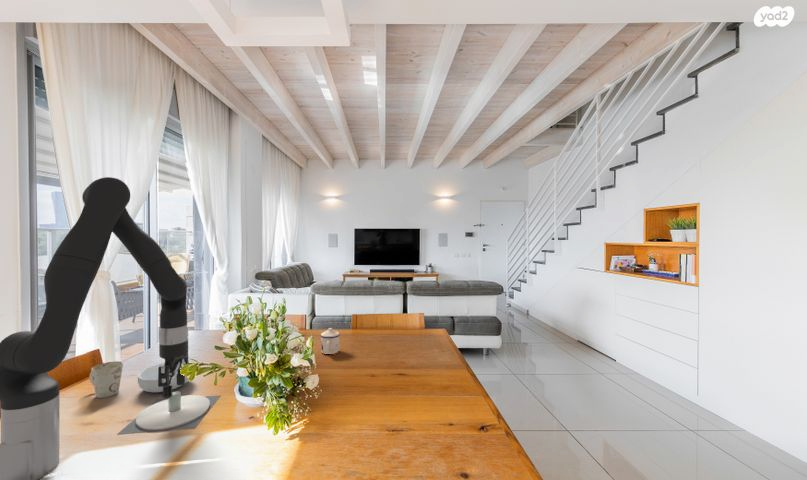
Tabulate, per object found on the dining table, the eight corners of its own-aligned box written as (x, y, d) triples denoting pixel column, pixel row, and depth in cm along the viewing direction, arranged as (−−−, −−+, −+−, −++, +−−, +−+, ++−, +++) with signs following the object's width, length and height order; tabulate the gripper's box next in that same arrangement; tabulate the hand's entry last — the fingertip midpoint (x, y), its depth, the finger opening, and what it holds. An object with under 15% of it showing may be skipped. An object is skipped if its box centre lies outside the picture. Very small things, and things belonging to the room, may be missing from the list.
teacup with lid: (322, 349, 166) (322, 325, 166) (340, 349, 167) (340, 325, 166) (317, 358, 154) (317, 332, 154) (337, 357, 155) (337, 332, 155)
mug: (104, 400, 113) (104, 371, 113) (75, 396, 115) (75, 368, 115) (129, 389, 121) (129, 362, 121) (101, 386, 123) (101, 359, 123)
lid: (193, 427, 97) (194, 406, 97) (120, 433, 94) (120, 411, 94) (218, 396, 116) (218, 379, 115) (158, 400, 112) (158, 382, 112)
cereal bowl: (147, 382, 127) (147, 363, 127) (197, 376, 133) (198, 358, 133) (129, 403, 111) (129, 382, 111) (187, 395, 117) (187, 375, 117)
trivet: (195, 430, 96) (195, 428, 96) (116, 436, 93) (116, 434, 93) (220, 397, 116) (220, 395, 116) (157, 401, 113) (157, 399, 113)
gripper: (176, 347, 98) (176, 401, 99) (196, 332, 112) (197, 379, 113) (147, 348, 97) (148, 403, 98) (171, 333, 111) (172, 381, 111)
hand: (174, 390), depth 105 cm, fingers open, 8 cm apart
